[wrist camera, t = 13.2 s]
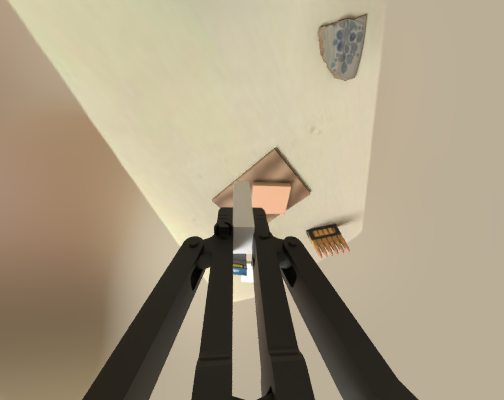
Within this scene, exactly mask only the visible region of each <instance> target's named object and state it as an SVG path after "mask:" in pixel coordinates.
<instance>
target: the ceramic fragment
mask: <svg viewBox="0 0 504 400" xmlns="http://www.w3.org/2000/svg"><path fill="white" fill-rule="evenodd" d="M365 27H366V15H362V16H360V17H359V18H356V19H352V20H351V19H344V20H340V21H338V22H337V23H333V24H330V25H326V26H322V27H319V31H318V37H319V45H320V53H321V56H322V58H323V61H324V62H325V63H326V64H327V68H328V69H329V71H330V72H331V73H332V74H333V76H334V78H337V79H342V80H344V81H346V80H349V79H353V78H355V76H356V73H357V70H358V66H359V62H360V58H361V54H362V49H363V43H364V36H365Z"/></svg>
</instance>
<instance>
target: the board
mask: <svg viewBox="0 0 504 400" xmlns="http://www.w3.org/2000/svg"><path fill="white" fill-rule="evenodd" d="M235 181H246V182H249V186H250V194H252V183H253V182H271V183H290V185H291V190H290V194H289V199H288V203H287V208H286V210H288V209H289V208H291V207H292V206H293V205H295V204H296V203H298V202H299V201H301V200H302V199H304V198H305V197H307V196H308V195H310V192H309V191H308V190H307V189H306V187H305V186H304V185H303V184H302V183H301V181H300V180H299V179H298V178H297V176H296V175H295V174H294V173H293V171H292V170H291V169H290V168H289V166H288V165H287V164H286V163H285V161H284V160H283V159H282V158H281V156H280V155H279V154H278V153H277V151H276V150H275V149H273V150H271V151H270V152H269V153H268V154H267V155H265V156H264V157H263V158H262V159H261V160H259V161H258V162H257V163H256V164H255V165H253V166H252V167H251V168H250V169H248V170H247V171H246V172H245V173H244V174H242V175H241V176H240V177H239V178H238V179H236V180H235ZM233 187H234V182H233V183H232V184H230V185H229V186H228V187H227V188H225V189H224V190H223V191H222V192H221V193H219V194H218V195H217V196H216V197H215V198H213V199H212V201H213V202H214V203H215V204H216V205H218V206H219V207H220V208H221V207H233ZM279 215H280V214H266V217H267V222H270V221H271V220H273V219H274V218H276V217H277V216H279Z"/></svg>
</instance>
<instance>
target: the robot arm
mask: <svg viewBox="0 0 504 400" xmlns="http://www.w3.org/2000/svg"><path fill="white" fill-rule="evenodd" d="M233 254H252V262H251V266H252V268H253V280H254V292H255V303H256V315H257V326H258V339H259V351H260V362H261V391H262V397H261V398H259V399H258V400H315V398H314V394H313V390H312V386H311V382H310V377H309V373H308V369H307V365H306V362H305V359H304V357H303V355H302V354H301V352H300V351H299V349H298V345H297V341H296V336H295V332H294V327H293V323H292V319H291V314H290V310H289V306H288V301H287V297H286V292H285V288H284V283H283V279H284V281H285V283H286V285H287V287H288V289H289V291H290V293H291V295H292V297H293V299H294V301H295V303H296V305H297V307H298V309H299V312H300V314H301V316H302V318H303V319H304V322H305V324H306V326H307V328H308V330H309V332H310V334H311V336H312V337H313V340H314V342H315V344H316V346H317V348H318V350H319V352H320V354H321V356H322V358H323V360H324V362H325V364H326V366H327V368H328V370H329V372H330V374H331V376H332V378H333V380H334V382H335V384H336V386H337V388H338V390H339V392H340V394H341V396H342V398H343V399H344V400H418V399H417V398H416V397H415V396H414V395H413V394H412V393H411V392H410V391H409V390H408V389H407V388H406V387H405V386H404V385H403V384H402V383H401V382H400V381H399V380H398V379H397V377H396V376H395V374H394V373H393V372H392V370H391V369H390V367H389V366H388V364H387V363H386V362H385V360H384V359H383V357H382V356H381V354H380V353H379V352H378V350H377V349H376V347H375V346H374V345H373V343H372V342H371V340H370V339H369V338H368V336H367V335H366V333H365V332H364V330H363V329H362V328H361V326H360V325H359V323H358V322H357V320H356V319H355V318H354V316H353V315H352V313H351V312H350V311H349V309H348V308H347V306H346V305H345V303H344V302H343V301H342V299H341V298H340V296H339V295H338V294H337V292H336V291H335V289H334V288H333V286H332V285H331V284H330V282H329V281H328V279H327V278H326V276H325V275H324V274H323V272H322V271H321V269H320V268H319V267H318V265H317V264H316V262H315V261H314V259H313V258H312V257H311V255H310V254H309V252H308V251H307V250H306V248H305V247H304V245H303V244H302V242H301V241H300V240H299V239H297V238H296V237H292V236H290V237H286V238H285V239H284V240H282V239H278V238H276V237H274V236H273V235H272V233H270V231H269V226H268V222H267V217H266V213H265V210H264V209H263V208H257V207H252V202H251V194H250V186H249V182H246V181H234V187H233V207H221V208H220V210H219V212H218V219H217V223H216V224H215V226H214V235H213V236H212V237H210V238H208V239H204V240H203V239H202V238H200V237H197V236H193V237H190V238H188V239H186V240H185V241H184V243H183V244H182V246H181V247H180V249H179V250H178V252H177V254H176V255H175V257H174V258H173V260H172V261H171V263H170V265H169V266H168V267H167V269H166V271H165V272H164V274H163V275H162V277H161V278H160V280H159V282H158V283H157V285H156V286H155V288H154V289H153V291H152V292H151V294H150V295H149V297H148V299H147V300H146V302H145V303H144V305H143V306H142V308H141V310H140V311H139V313H138V314H137V316H136V317H135V319H134V320H133V322H132V323H131V325H130V326H129V328H128V330H127V331H126V333H125V334H124V336H123V337H122V339H121V341H120V342H119V344H118V345H117V347H116V348H115V350H114V351H113V353H112V354H111V356H110V358H109V359H108V361H107V362H106V364H105V366H104V367H103V368H102V370H101V371H100V373H99V375H98V376H97V378H96V379H95V381H94V382H93V384H92V385H91V387H90V389H89V390H88V392H87V393H86V395H85V396H84V398H83V399H82V400H149V398H150V396H151V393H152V391H153V389H154V387H155V384H156V382H157V380H158V377H159V375H160V373H161V370H162V368H163V366H164V364H165V361H166V359H167V357H168V355H169V352H170V350H171V348H172V345H173V343H174V341H175V338H176V336H177V334H178V332H179V329H180V327H181V325H182V322H183V320H184V318H185V316H186V313H187V311H188V309H189V306H190V304H191V302H192V299H193V297H194V295H195V293H196V290H197V288H198V285H199V283H200V281H201V279H202V277H203V274H204V272H205V269H206V268H209V267H210V275H209V283H208V291H207V298H206V306H205V314H204V322H203V330H202V338H201V346H200V353H199V358H198V361H197V365H196V370H195V378H194V385H193V392H192V399H191V400H244V399H240V398H237V397H234V396H232V315H233V314H232V313H233V312H232V309H233V305H232V304H233ZM282 277H283V279H282Z"/></svg>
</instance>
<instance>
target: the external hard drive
mask: <svg viewBox="0 0 504 400" xmlns="http://www.w3.org/2000/svg"><path fill="white" fill-rule="evenodd" d="M241 282H254V280H253V268H252V266H251V262H247V276H242V278H241Z"/></svg>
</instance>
